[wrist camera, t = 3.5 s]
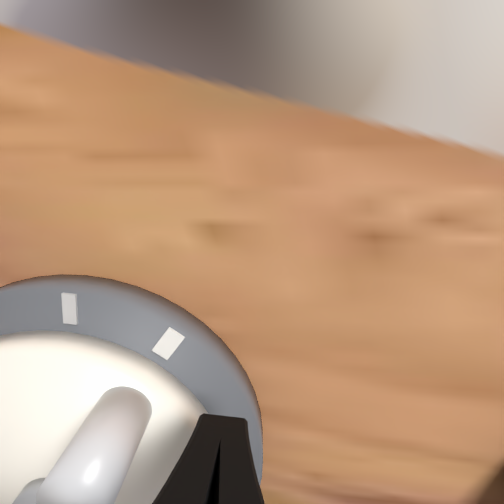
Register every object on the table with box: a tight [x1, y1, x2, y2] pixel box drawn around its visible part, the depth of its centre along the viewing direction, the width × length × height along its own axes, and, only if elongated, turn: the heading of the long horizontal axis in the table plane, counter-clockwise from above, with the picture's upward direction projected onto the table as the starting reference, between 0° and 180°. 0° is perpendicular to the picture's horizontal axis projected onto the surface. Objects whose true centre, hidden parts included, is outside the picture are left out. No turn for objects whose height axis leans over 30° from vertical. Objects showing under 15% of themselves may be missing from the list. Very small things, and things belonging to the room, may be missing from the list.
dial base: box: [0, 275, 263, 485], centre depth 14 cm, size 16×16×2 cm
